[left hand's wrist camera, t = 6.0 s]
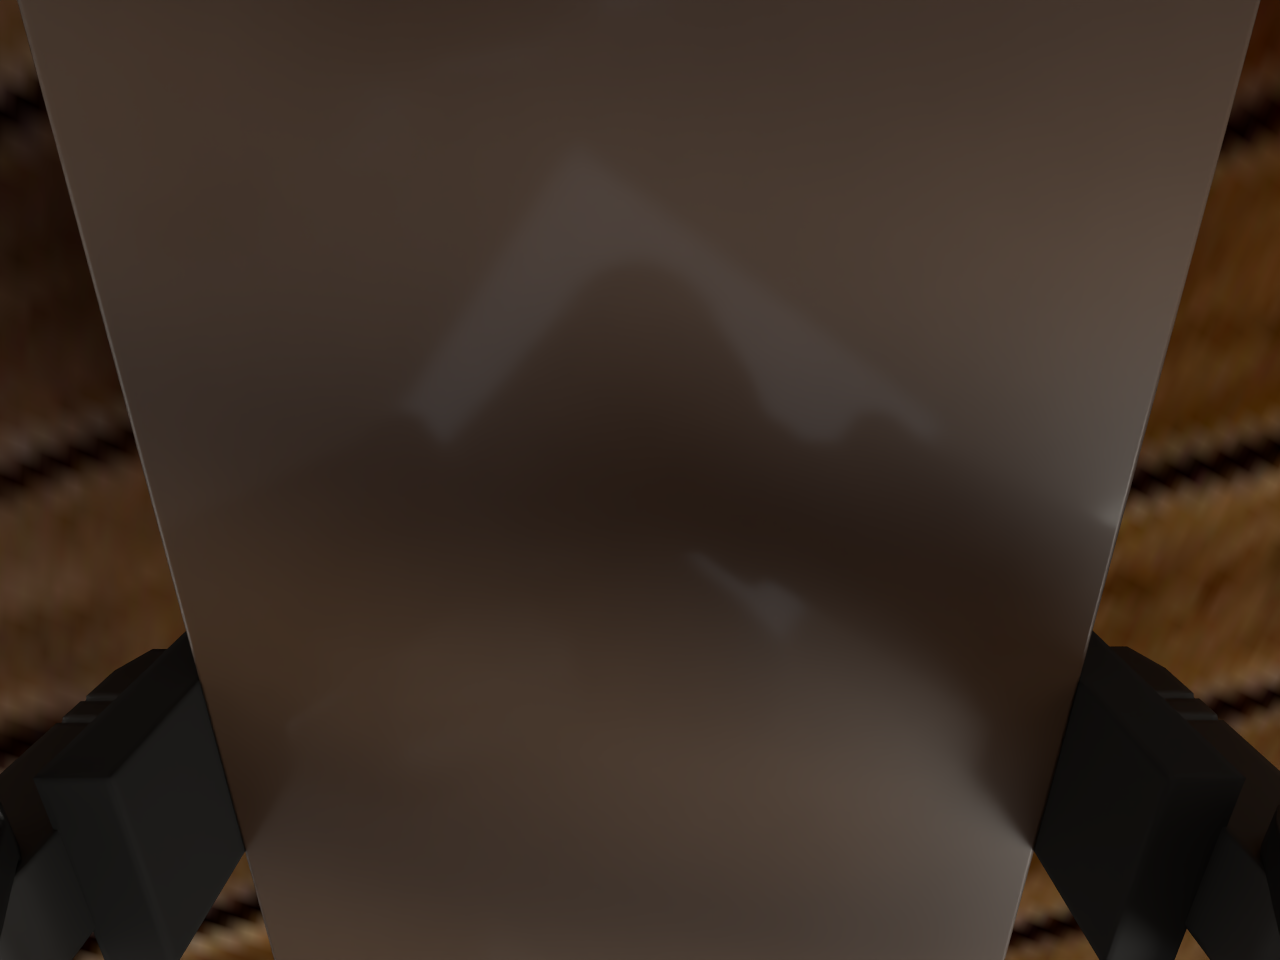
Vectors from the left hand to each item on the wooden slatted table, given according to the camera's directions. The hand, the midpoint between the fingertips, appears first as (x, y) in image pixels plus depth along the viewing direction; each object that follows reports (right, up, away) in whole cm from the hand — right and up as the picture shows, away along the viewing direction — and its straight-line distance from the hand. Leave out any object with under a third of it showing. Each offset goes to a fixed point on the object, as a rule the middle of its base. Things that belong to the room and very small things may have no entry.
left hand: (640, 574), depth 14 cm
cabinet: (0, +6, +5) cm, 8 cm away
